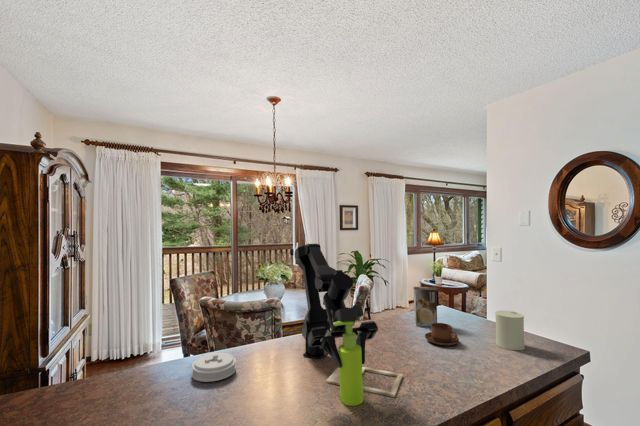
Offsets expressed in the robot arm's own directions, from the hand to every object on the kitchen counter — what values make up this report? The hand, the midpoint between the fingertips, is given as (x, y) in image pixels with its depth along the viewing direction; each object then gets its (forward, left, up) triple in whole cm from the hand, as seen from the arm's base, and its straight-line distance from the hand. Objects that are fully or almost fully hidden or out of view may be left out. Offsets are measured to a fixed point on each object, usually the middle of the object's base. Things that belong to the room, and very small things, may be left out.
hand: (352, 365), depth 81 cm
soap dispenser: (-1, +1, -9) cm, 9 cm away
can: (+41, +59, -9) cm, 72 cm away
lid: (-43, -2, -10) cm, 44 cm away
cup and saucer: (+18, +53, -10) cm, 57 cm away
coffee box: (+10, +72, -9) cm, 73 cm away
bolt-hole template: (0, +13, -9) cm, 16 cm away
